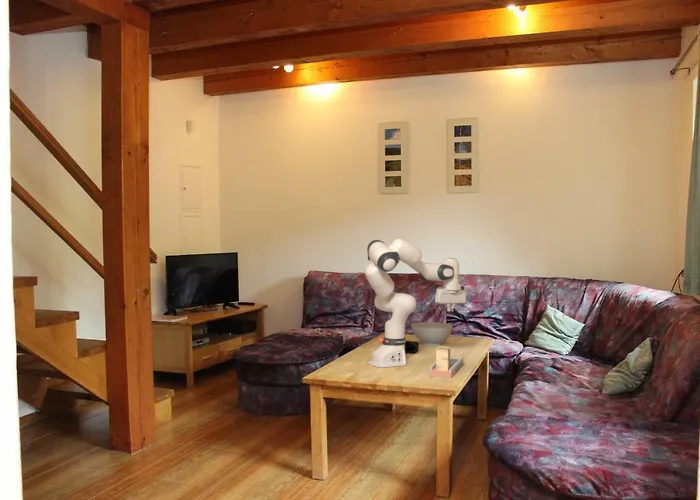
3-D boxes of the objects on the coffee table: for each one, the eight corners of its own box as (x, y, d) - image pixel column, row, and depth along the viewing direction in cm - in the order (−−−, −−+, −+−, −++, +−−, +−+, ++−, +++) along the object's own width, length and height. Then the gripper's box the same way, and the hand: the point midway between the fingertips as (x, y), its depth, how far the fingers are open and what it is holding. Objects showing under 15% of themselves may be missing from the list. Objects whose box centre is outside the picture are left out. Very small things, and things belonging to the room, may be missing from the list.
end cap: (418, 352, 367) (419, 341, 367) (415, 354, 361) (415, 342, 361) (403, 350, 371) (403, 339, 371) (399, 352, 365) (399, 341, 365)
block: (438, 367, 313) (438, 346, 313) (450, 368, 311) (450, 347, 311) (436, 369, 308) (436, 348, 307) (447, 370, 305) (448, 349, 305)
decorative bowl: (409, 339, 408) (410, 321, 408) (449, 340, 407) (450, 322, 407) (412, 347, 381) (412, 328, 381) (455, 348, 380) (455, 328, 380)
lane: (443, 363, 336) (443, 355, 336) (463, 365, 332) (463, 357, 332) (429, 376, 306) (429, 367, 306) (451, 378, 302) (451, 369, 302)
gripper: (440, 286, 334) (439, 312, 334) (468, 287, 345) (467, 311, 344) (432, 286, 339) (432, 311, 339) (460, 286, 350) (459, 310, 350)
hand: (450, 311), depth 342 cm, fingers closed
